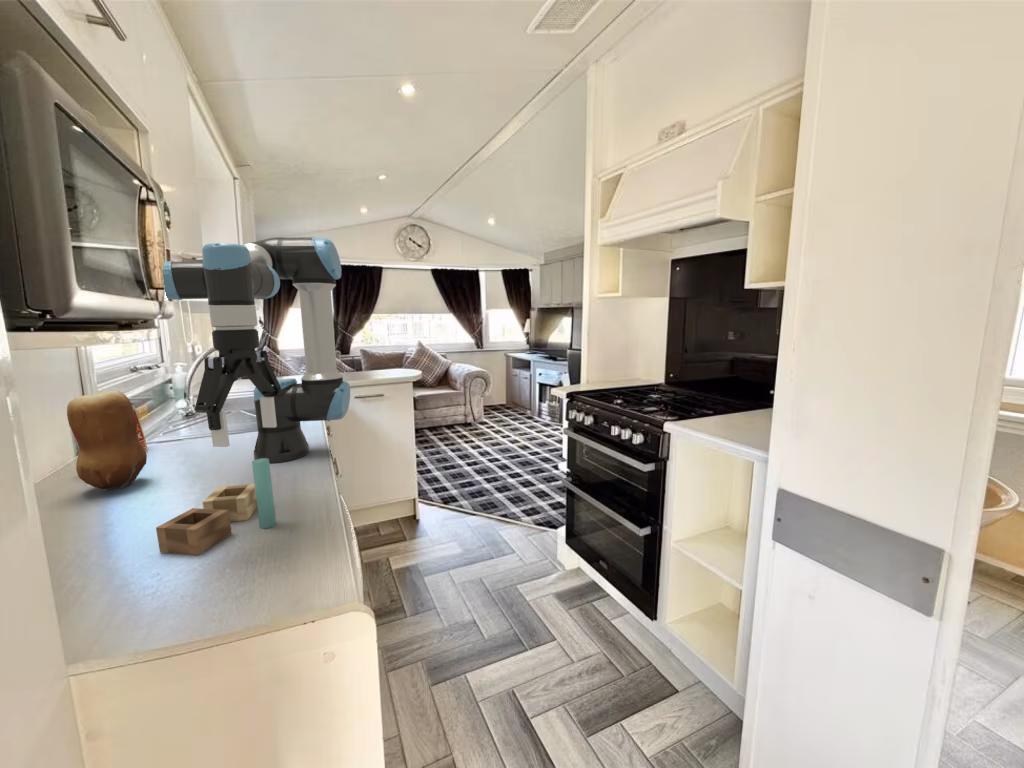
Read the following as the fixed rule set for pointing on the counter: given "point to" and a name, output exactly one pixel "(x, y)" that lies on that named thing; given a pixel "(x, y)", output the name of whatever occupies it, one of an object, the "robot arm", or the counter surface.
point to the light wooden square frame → (234, 501)
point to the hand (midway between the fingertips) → (247, 436)
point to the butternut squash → (106, 440)
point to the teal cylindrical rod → (264, 493)
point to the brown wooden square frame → (193, 531)
